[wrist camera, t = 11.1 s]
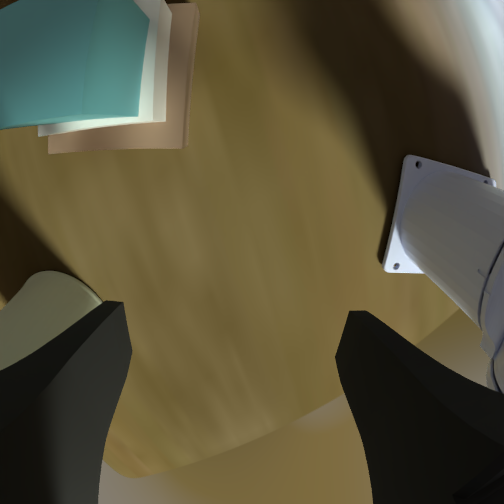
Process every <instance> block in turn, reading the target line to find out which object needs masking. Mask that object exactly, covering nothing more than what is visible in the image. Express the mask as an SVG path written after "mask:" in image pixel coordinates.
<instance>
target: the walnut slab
mask: <svg viewBox="0 0 504 504" xmlns="http://www.w3.org/2000/svg"><path fill="white" fill-rule="evenodd" d="M167 6H168V7H169V9H170V11H171V13H172V19H171V29H170V41H169V54H168V71H167V93H166V122H150V123H137V124H127V125H117V126H108V127H100V128H93V129H86V130H79V131H73V132H67V133H60V134H53V135H48V154H56V153H67V152H79V151H94V150H113V149H152V148H171V149H182V148H185V147H187V146H188V134H189V118H190V104H191V92H192V80H193V70H194V60H195V51H196V42H197V34H198V26H199V18H200V14H199V10H198V7H197V4H196V3H176V4H167Z"/></svg>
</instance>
